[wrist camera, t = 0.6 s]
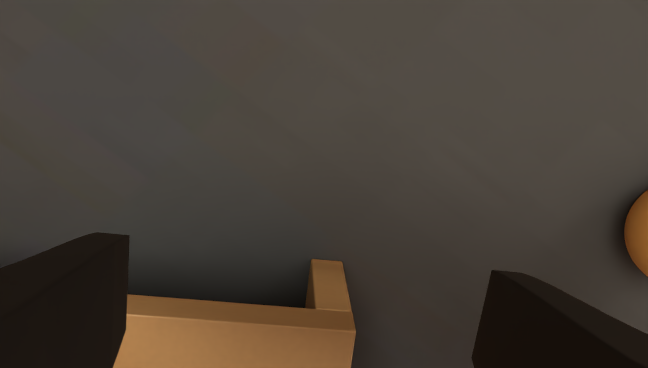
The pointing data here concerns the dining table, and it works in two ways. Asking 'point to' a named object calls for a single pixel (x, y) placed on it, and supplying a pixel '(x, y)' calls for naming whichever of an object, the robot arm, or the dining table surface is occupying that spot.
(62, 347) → the robot arm
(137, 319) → the shelf
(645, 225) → the figurine
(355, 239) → the dining table surface
